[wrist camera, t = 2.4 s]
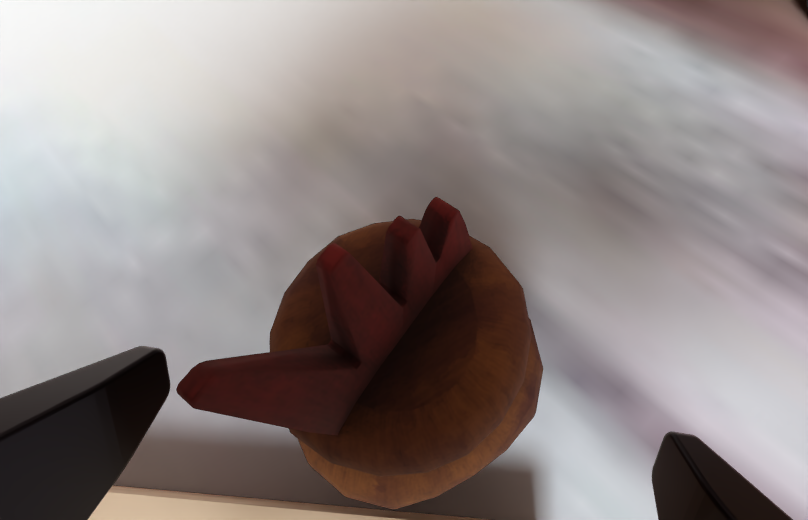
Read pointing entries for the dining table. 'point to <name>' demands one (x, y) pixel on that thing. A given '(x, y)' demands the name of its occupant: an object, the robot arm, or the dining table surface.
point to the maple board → (231, 508)
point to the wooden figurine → (391, 361)
